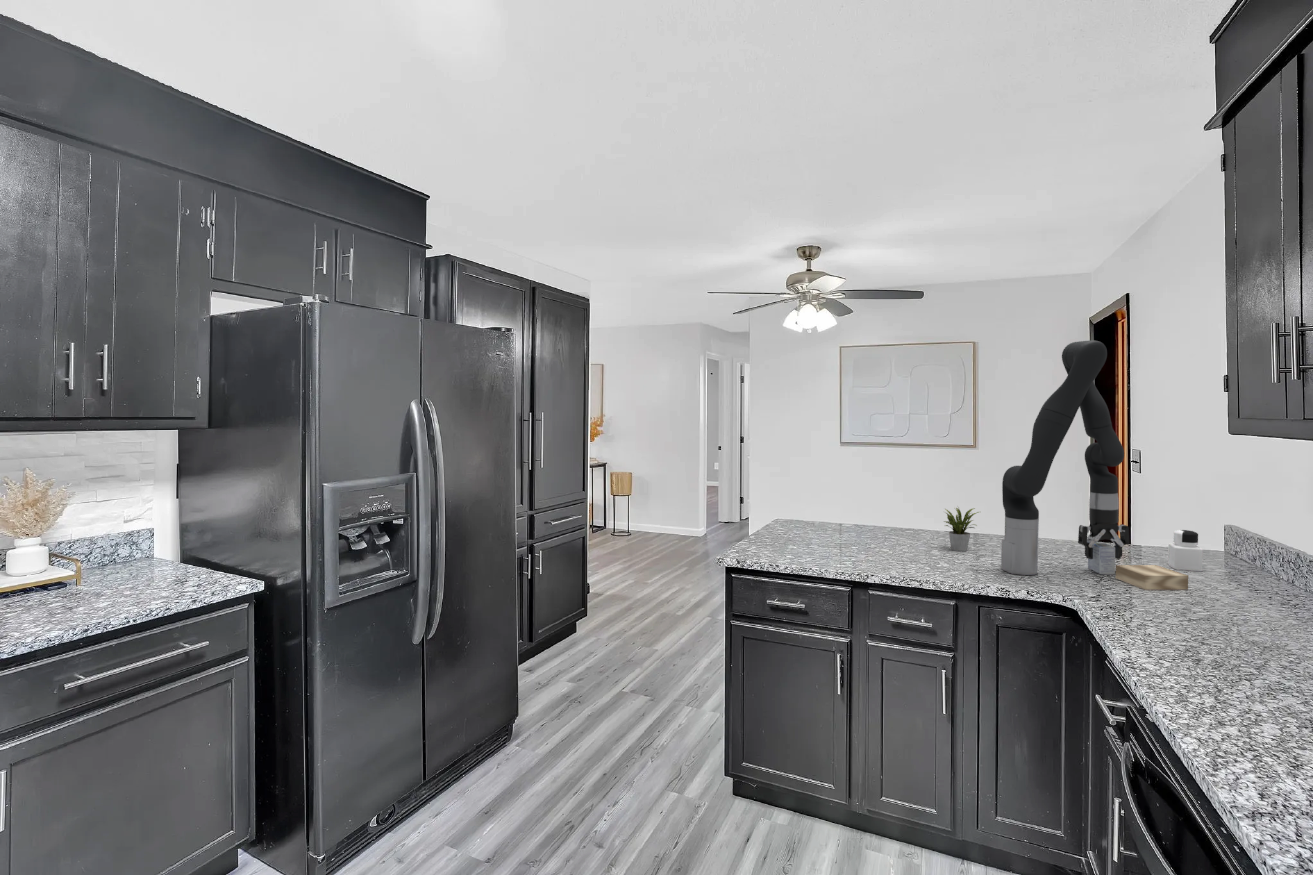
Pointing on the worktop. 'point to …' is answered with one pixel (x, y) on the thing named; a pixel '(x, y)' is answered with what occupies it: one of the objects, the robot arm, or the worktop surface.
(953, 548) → the house plant
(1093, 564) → the medicine box
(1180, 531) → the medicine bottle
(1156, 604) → the worktop surface
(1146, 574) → the oak base
